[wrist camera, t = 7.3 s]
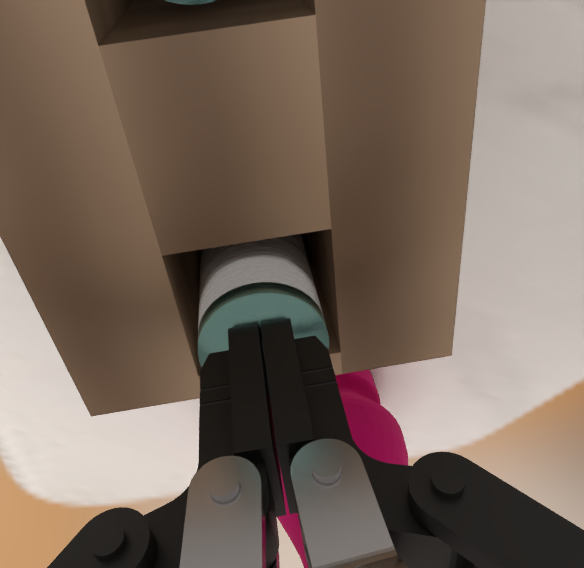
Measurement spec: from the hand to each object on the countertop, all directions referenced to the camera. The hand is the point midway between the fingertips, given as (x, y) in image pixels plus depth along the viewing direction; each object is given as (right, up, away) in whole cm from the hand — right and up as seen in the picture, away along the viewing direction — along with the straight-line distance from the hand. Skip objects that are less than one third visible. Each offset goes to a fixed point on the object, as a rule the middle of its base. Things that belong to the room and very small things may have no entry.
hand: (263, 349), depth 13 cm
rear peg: (-1, +5, +6) cm, 8 cm away
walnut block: (-2, +10, +6) cm, 12 cm away
